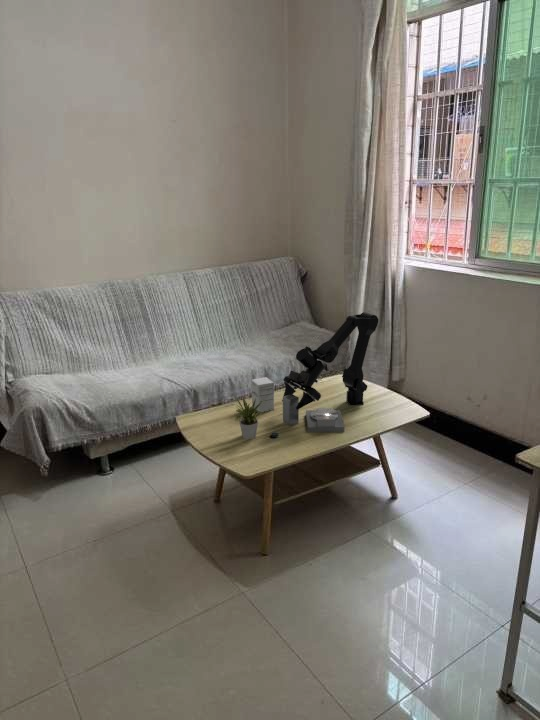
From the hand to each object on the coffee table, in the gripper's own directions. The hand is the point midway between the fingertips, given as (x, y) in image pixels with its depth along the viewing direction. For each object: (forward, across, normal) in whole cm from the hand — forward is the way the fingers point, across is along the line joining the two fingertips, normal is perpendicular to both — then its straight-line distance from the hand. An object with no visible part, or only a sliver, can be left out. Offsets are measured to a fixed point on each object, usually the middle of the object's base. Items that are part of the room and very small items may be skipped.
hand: (289, 405), depth 222 cm
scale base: (-2, +9, +13) cm, 16 cm away
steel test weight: (+5, 0, +6) cm, 8 cm away
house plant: (+20, 0, -9) cm, 22 cm away
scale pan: (-5, +7, +12) cm, 15 cm away
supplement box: (+6, -18, +5) cm, 20 cm away
